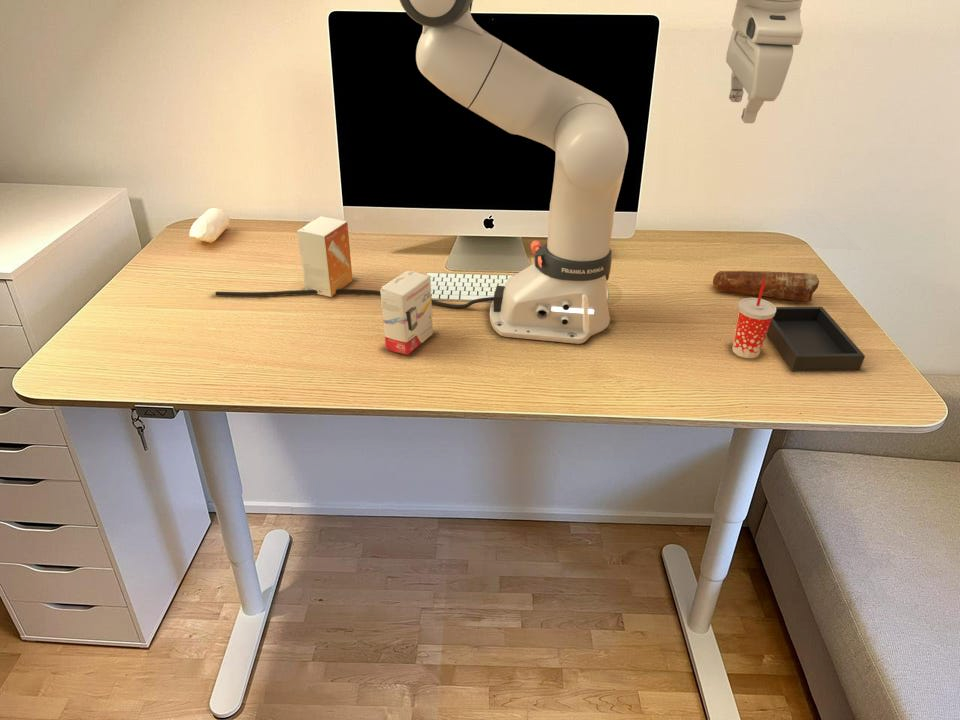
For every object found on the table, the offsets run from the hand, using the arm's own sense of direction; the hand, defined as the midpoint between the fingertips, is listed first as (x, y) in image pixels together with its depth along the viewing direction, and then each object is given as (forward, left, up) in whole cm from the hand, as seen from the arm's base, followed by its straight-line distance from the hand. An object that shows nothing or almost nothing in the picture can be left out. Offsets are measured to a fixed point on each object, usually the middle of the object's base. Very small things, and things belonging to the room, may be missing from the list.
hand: (740, 110), depth 113 cm
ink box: (-54, -7, -38) cm, 66 cm away
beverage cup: (+5, -11, -38) cm, 40 cm away
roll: (-101, +36, -38) cm, 113 cm away
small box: (-71, +14, -38) cm, 81 cm away
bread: (+15, +9, -38) cm, 42 cm away
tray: (+17, -9, -38) cm, 43 cm away
